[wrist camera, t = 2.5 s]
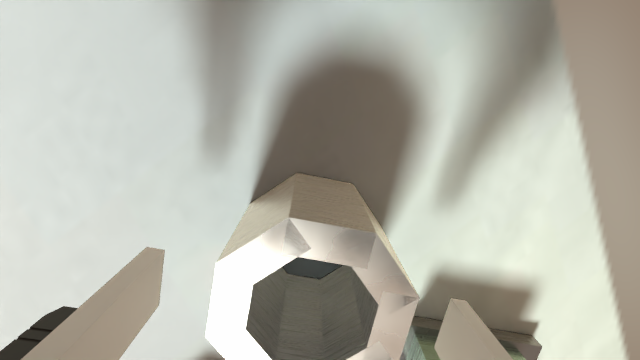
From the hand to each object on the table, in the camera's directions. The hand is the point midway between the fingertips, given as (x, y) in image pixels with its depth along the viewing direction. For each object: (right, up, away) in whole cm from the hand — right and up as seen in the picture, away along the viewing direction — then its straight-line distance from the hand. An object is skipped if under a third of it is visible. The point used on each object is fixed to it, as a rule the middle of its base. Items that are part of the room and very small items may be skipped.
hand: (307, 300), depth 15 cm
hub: (0, +2, +5) cm, 5 cm away
